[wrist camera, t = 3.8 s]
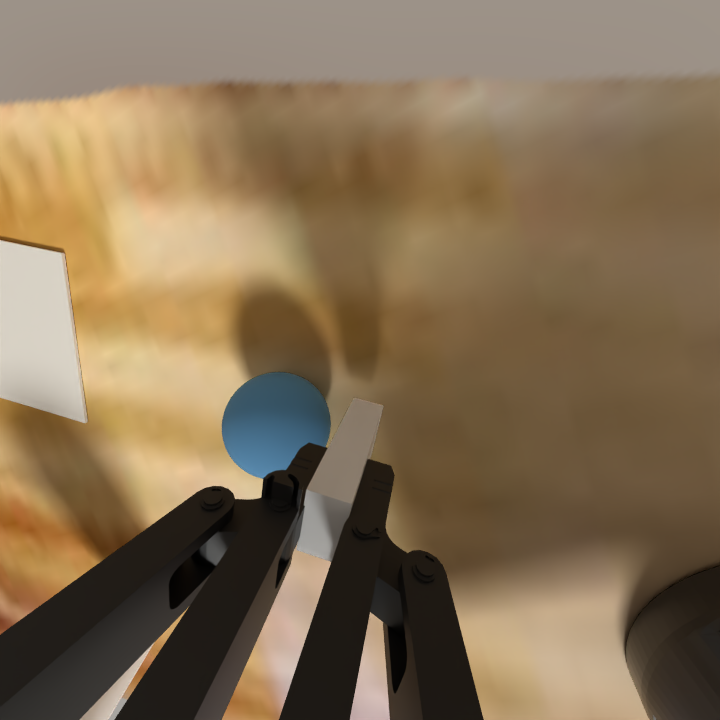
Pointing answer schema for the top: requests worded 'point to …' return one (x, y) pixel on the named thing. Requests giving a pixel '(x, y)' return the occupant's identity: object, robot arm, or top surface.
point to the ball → (273, 422)
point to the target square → (38, 332)
